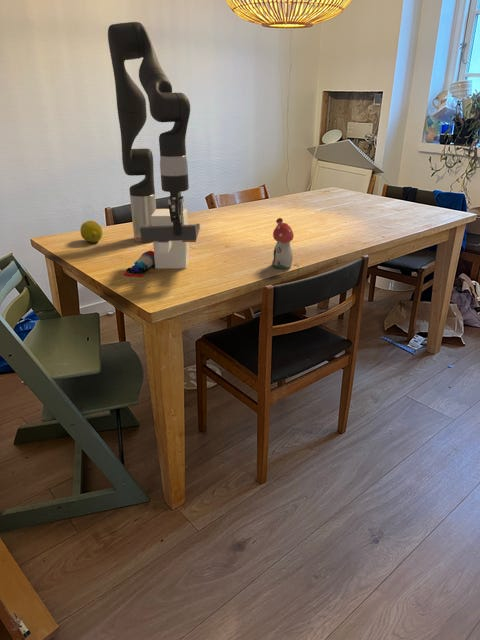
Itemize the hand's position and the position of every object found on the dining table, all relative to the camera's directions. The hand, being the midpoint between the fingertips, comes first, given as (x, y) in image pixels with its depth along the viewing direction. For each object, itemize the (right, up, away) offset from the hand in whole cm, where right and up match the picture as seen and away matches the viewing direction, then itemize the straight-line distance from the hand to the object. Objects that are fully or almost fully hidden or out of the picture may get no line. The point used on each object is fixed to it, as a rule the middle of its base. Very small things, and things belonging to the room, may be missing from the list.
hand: (178, 234), depth 139 cm
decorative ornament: (+32, -7, +18) cm, 37 cm away
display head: (-4, -9, +14) cm, 17 cm away
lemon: (-38, +5, +43) cm, 58 cm away
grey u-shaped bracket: (-3, +1, +6) cm, 6 cm away
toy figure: (-13, -9, +15) cm, 22 cm away
